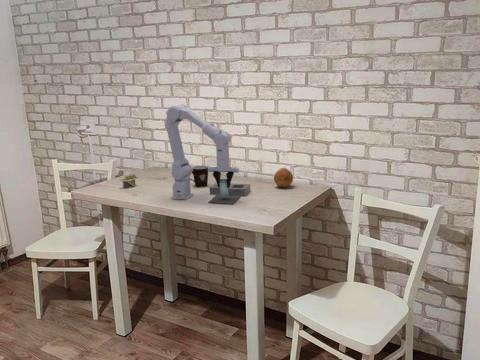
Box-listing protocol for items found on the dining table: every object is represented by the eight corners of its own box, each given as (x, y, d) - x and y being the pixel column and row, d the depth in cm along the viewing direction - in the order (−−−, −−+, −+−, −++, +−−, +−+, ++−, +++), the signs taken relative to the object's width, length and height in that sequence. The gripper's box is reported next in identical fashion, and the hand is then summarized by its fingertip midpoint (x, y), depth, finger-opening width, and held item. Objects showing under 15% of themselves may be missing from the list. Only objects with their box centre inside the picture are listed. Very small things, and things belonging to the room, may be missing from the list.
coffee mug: (210, 183, 246) (209, 165, 244) (207, 187, 238) (207, 169, 236) (189, 183, 248) (188, 165, 245) (186, 187, 239) (184, 169, 237)
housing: (245, 196, 220) (245, 189, 219) (209, 194, 225) (208, 187, 224) (250, 190, 229) (250, 184, 228) (215, 189, 234) (215, 182, 233)
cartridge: (227, 197, 212) (226, 181, 210) (219, 197, 213) (218, 180, 211) (229, 195, 216) (229, 178, 214) (221, 194, 217) (221, 178, 215)
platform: (150, 185, 248) (149, 173, 247) (124, 193, 235) (123, 180, 233) (136, 182, 256) (135, 171, 254) (109, 189, 242) (108, 177, 240)
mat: (233, 204, 207) (233, 203, 207) (208, 203, 211) (208, 202, 210) (240, 197, 219) (240, 196, 218) (216, 196, 222) (216, 195, 222)
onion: (270, 186, 237) (270, 167, 235) (287, 183, 241) (287, 165, 238) (278, 190, 229) (278, 171, 226) (296, 188, 232) (296, 168, 230)
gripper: (240, 157, 212) (241, 185, 215) (210, 156, 216) (212, 184, 219) (236, 160, 205) (237, 189, 208) (205, 159, 209) (207, 188, 212)
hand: (224, 187), depth 213 cm, fingers closed on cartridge, 4 cm apart
